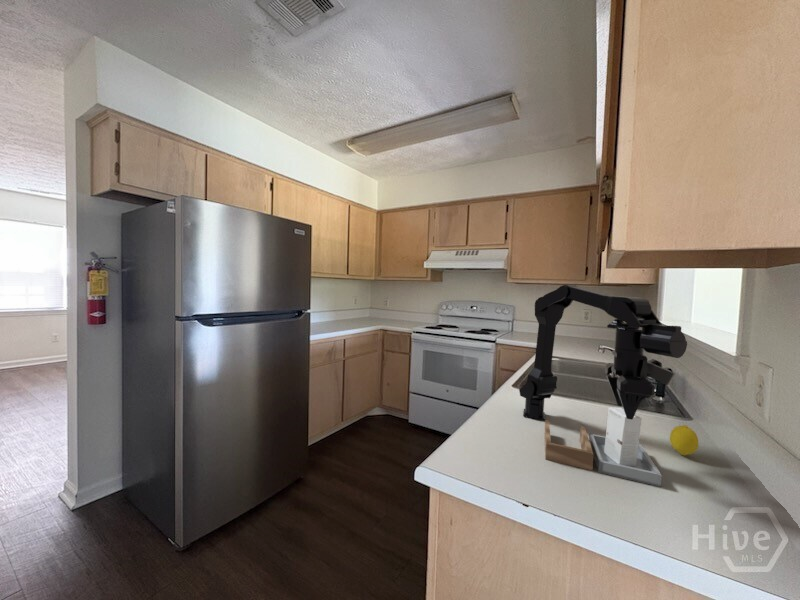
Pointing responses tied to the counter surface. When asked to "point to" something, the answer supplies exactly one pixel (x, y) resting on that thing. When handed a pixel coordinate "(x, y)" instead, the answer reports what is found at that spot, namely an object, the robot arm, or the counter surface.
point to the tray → (640, 473)
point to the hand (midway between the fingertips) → (624, 412)
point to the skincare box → (622, 437)
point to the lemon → (684, 440)
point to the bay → (569, 451)
